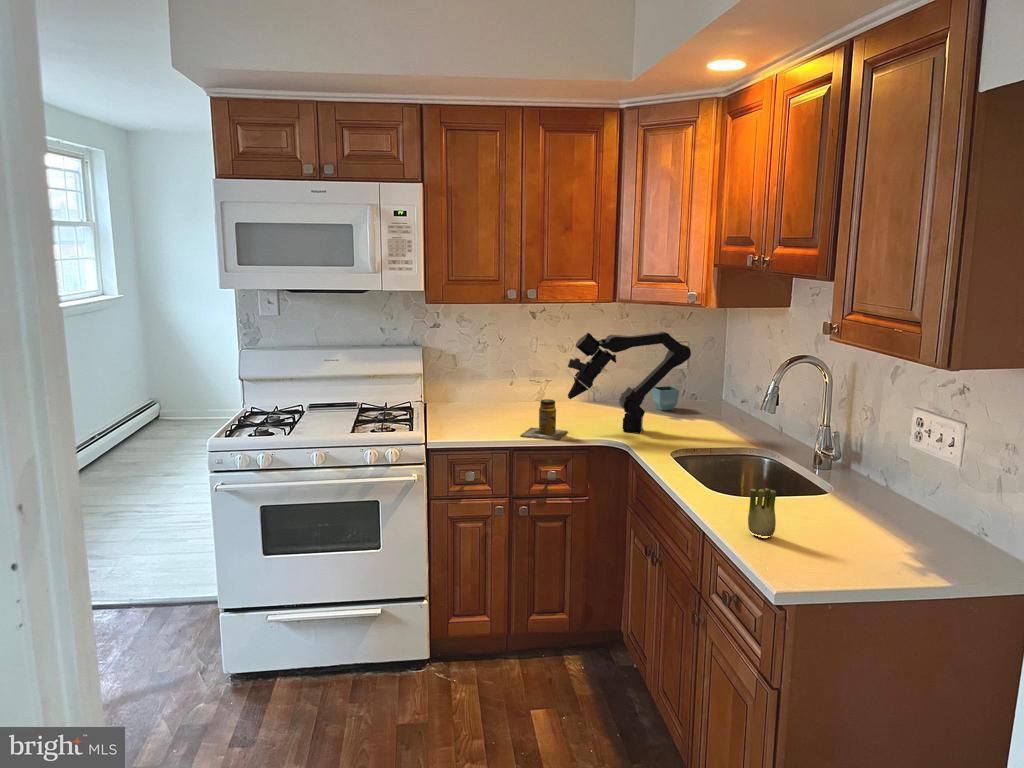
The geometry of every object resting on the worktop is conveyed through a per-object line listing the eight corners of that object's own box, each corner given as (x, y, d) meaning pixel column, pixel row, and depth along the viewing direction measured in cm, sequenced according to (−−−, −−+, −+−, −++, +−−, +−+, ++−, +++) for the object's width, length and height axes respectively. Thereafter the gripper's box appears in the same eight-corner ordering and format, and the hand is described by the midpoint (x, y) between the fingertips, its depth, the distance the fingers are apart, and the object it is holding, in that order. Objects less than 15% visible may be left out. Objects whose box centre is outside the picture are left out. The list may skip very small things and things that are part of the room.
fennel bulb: (745, 536, 186) (748, 488, 184) (753, 530, 190) (756, 483, 188) (769, 542, 183) (772, 493, 180) (776, 536, 186) (780, 488, 184)
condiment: (560, 433, 279) (561, 401, 277) (541, 437, 275) (541, 403, 273) (548, 429, 285) (549, 397, 283) (529, 432, 281) (529, 400, 279)
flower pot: (650, 407, 326) (651, 386, 324) (669, 406, 328) (670, 385, 326) (659, 412, 318) (660, 390, 316) (679, 411, 320) (680, 389, 318)
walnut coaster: (567, 432, 284) (567, 430, 284) (558, 440, 273) (558, 438, 273) (531, 429, 289) (531, 427, 288) (520, 436, 277) (520, 435, 277)
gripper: (578, 349, 290) (551, 381, 291) (580, 350, 271) (551, 384, 272) (601, 368, 289) (574, 401, 291) (604, 370, 271) (576, 405, 272)
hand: (568, 397), depth 281 cm, fingers open, 9 cm apart
